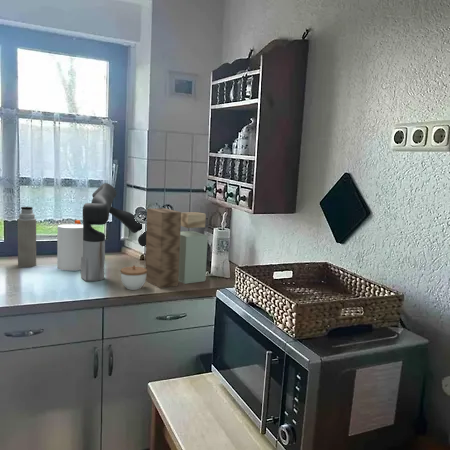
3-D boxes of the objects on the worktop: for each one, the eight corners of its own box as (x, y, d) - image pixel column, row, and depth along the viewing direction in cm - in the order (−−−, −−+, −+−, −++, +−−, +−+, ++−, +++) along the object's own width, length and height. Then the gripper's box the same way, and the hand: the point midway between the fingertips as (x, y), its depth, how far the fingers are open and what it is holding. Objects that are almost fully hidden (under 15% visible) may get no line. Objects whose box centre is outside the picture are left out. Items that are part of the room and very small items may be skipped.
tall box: (159, 288, 189) (162, 212, 184) (144, 279, 200) (147, 208, 195) (178, 285, 194) (181, 212, 189) (163, 277, 205) (165, 208, 201)
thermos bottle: (29, 262, 219) (29, 205, 216) (39, 265, 215) (39, 207, 211) (14, 265, 213) (13, 206, 209) (24, 268, 209) (24, 208, 205)
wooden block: (205, 227, 201) (205, 213, 200) (187, 228, 195) (188, 214, 194) (178, 219, 220) (179, 207, 219) (162, 219, 215) (162, 207, 214)
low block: (184, 283, 197) (186, 236, 194) (170, 276, 208) (172, 232, 205) (205, 281, 204) (207, 235, 201) (190, 274, 214) (192, 230, 211)
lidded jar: (114, 287, 186) (115, 265, 185) (135, 282, 195) (135, 261, 193) (131, 293, 180) (131, 270, 178) (151, 288, 188) (152, 266, 187)
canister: (86, 270, 211) (86, 228, 208) (55, 270, 207) (55, 227, 205) (87, 263, 224) (88, 224, 221) (59, 263, 220) (59, 223, 218)
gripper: (145, 220, 223) (160, 206, 210) (171, 219, 231) (186, 206, 218) (148, 234, 221) (163, 221, 208) (174, 233, 229) (189, 220, 216)
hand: (175, 214), depth 213 cm, fingers closed on wooden block, 4 cm apart
